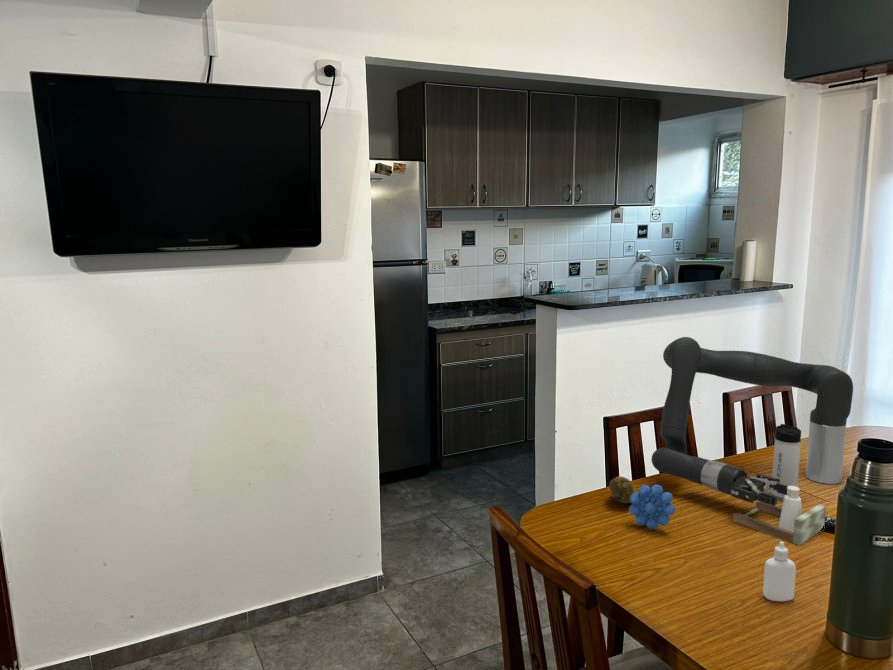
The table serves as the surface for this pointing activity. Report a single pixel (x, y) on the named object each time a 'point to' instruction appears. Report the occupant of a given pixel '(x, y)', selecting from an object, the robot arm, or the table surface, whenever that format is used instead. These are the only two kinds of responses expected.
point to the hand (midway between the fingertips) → (784, 496)
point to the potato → (622, 489)
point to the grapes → (651, 506)
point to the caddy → (803, 529)
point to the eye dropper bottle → (779, 576)
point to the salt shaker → (790, 508)
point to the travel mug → (786, 456)
